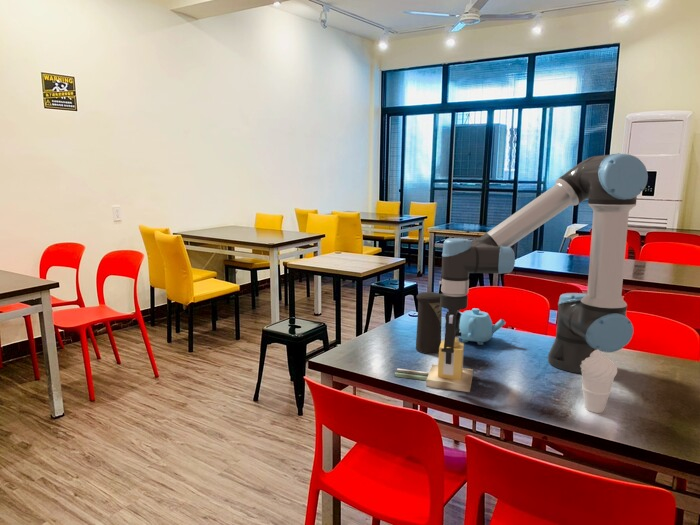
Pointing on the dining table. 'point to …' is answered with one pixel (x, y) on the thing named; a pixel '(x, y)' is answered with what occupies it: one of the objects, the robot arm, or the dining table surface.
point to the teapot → (477, 326)
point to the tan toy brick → (457, 361)
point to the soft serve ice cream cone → (597, 380)
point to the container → (429, 322)
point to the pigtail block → (439, 378)
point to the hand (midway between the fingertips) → (450, 365)
